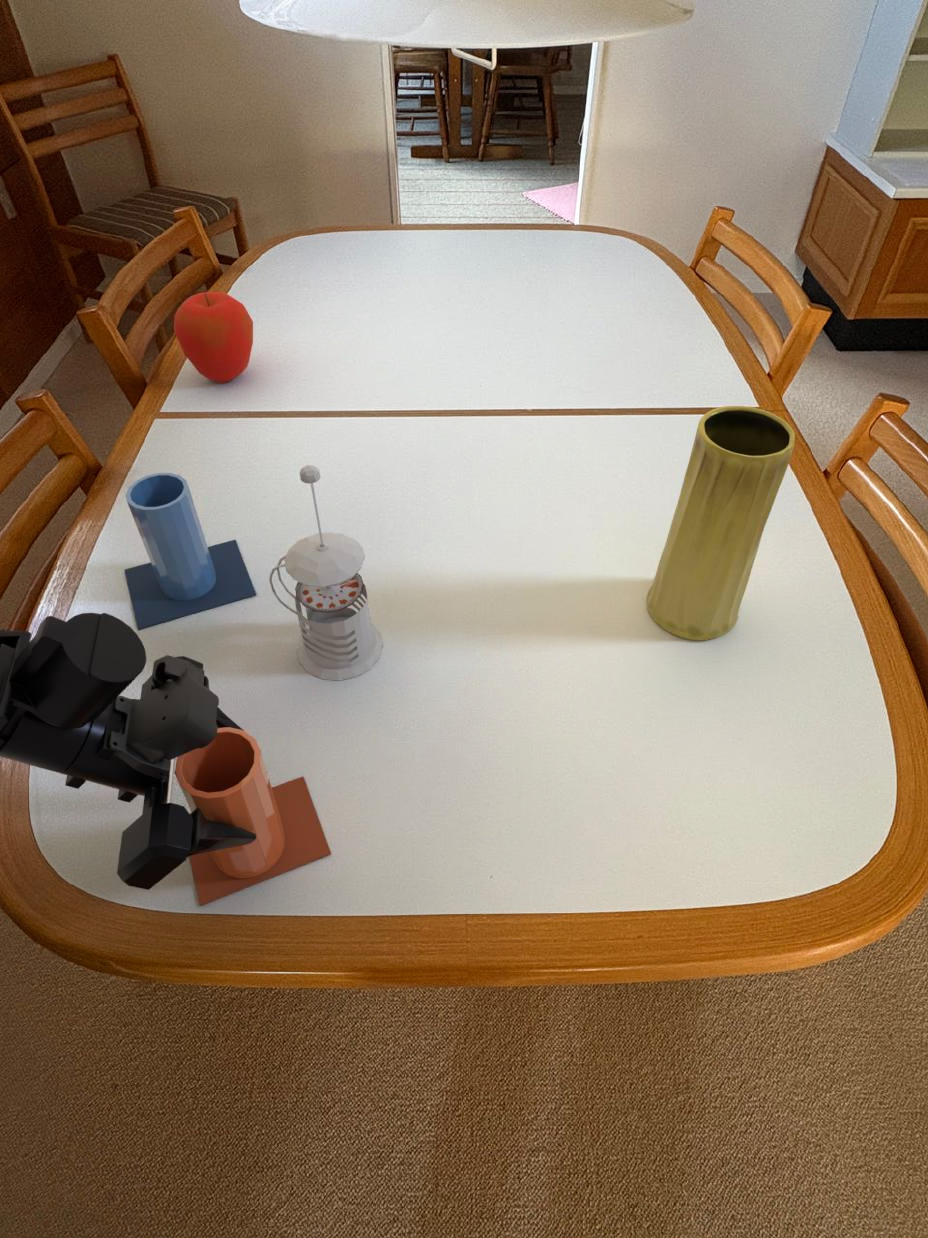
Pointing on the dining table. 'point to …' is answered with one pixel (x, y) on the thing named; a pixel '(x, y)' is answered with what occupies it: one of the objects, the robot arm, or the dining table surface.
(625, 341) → the dining table surface
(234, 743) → the terracotta tumbler
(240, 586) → the blue pad
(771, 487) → the vase
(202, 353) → the apple
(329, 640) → the french press
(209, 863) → the clay pad
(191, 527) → the blue tumbler
